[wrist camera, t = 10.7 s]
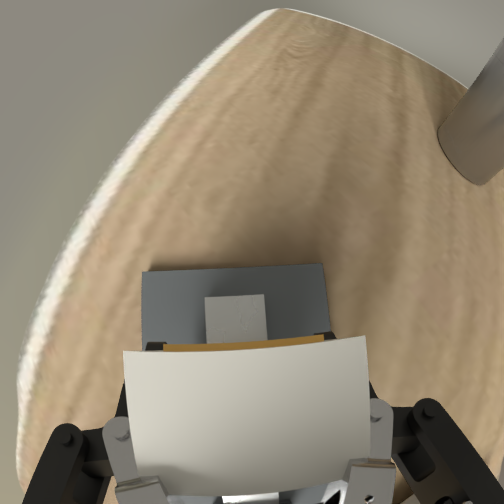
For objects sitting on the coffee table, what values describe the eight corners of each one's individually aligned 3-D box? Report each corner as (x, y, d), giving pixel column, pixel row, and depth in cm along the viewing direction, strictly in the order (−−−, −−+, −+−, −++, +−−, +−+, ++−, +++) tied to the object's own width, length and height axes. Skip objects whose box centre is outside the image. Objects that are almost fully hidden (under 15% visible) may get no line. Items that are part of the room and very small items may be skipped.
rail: (275, 296, 18) (281, 288, 15) (290, 511, 12) (297, 528, 10) (192, 300, 17) (186, 293, 15) (214, 517, 12) (212, 535, 10)
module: (290, 339, 15) (364, 327, 7) (295, 408, 14) (369, 471, 5) (185, 345, 15) (122, 342, 6) (190, 416, 13) (142, 491, 5)
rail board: (318, 267, 19) (322, 263, 18) (331, 513, 13) (335, 519, 12) (146, 275, 18) (142, 271, 17) (173, 526, 12) (171, 532, 11)
